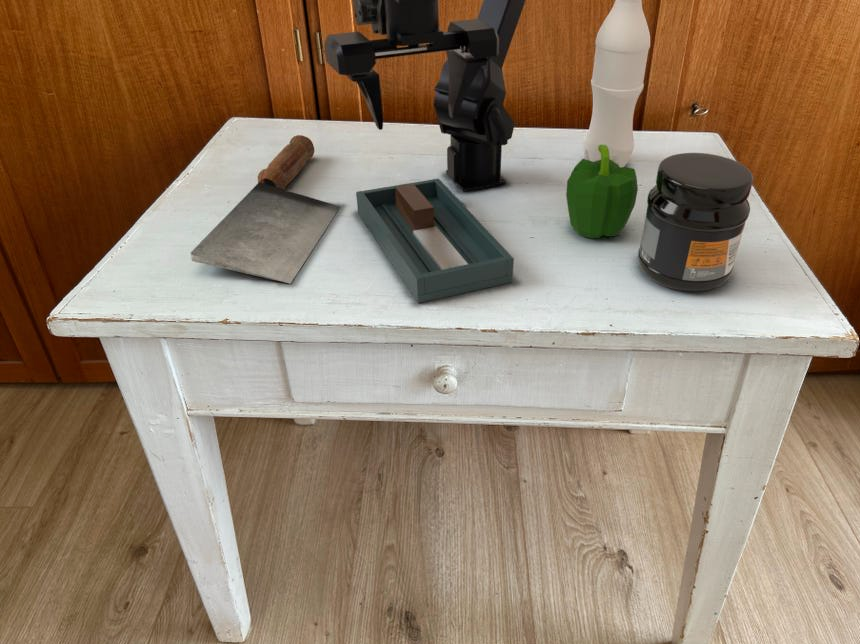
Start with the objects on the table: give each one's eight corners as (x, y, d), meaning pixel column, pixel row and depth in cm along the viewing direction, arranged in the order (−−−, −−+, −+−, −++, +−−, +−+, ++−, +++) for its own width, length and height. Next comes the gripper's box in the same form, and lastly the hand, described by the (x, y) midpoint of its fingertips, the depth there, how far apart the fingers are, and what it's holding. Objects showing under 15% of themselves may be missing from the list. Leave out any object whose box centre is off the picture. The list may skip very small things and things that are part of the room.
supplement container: (747, 292, 77) (778, 188, 69) (655, 299, 75) (677, 194, 68) (706, 244, 85) (730, 147, 77) (622, 250, 83) (639, 152, 76)
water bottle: (638, 161, 104) (670, -30, 89) (618, 178, 99) (648, -21, 84) (594, 150, 107) (617, -36, 92) (573, 166, 102) (594, -28, 87)
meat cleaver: (291, 283, 76) (286, 250, 73) (191, 274, 77) (182, 242, 74) (369, 163, 102) (367, 136, 100) (293, 157, 103) (289, 130, 101)
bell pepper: (624, 251, 83) (638, 171, 77) (556, 239, 85) (564, 160, 79) (635, 220, 89) (648, 143, 83) (571, 210, 91) (580, 134, 85)
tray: (439, 199, 93) (438, 178, 91) (512, 282, 77) (513, 258, 75) (357, 213, 89) (355, 191, 87) (417, 303, 73) (416, 279, 72)
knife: (416, 205, 89) (415, 183, 87) (470, 270, 77) (470, 246, 75) (393, 209, 88) (392, 186, 86) (444, 275, 76) (444, 251, 74)
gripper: (460, -45, 82) (460, 91, 92) (301, -34, 76) (320, 111, 86) (503, -27, 74) (499, 120, 84) (331, -13, 68) (348, 144, 78)
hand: (416, 122), depth 83 cm, fingers open, 9 cm apart
